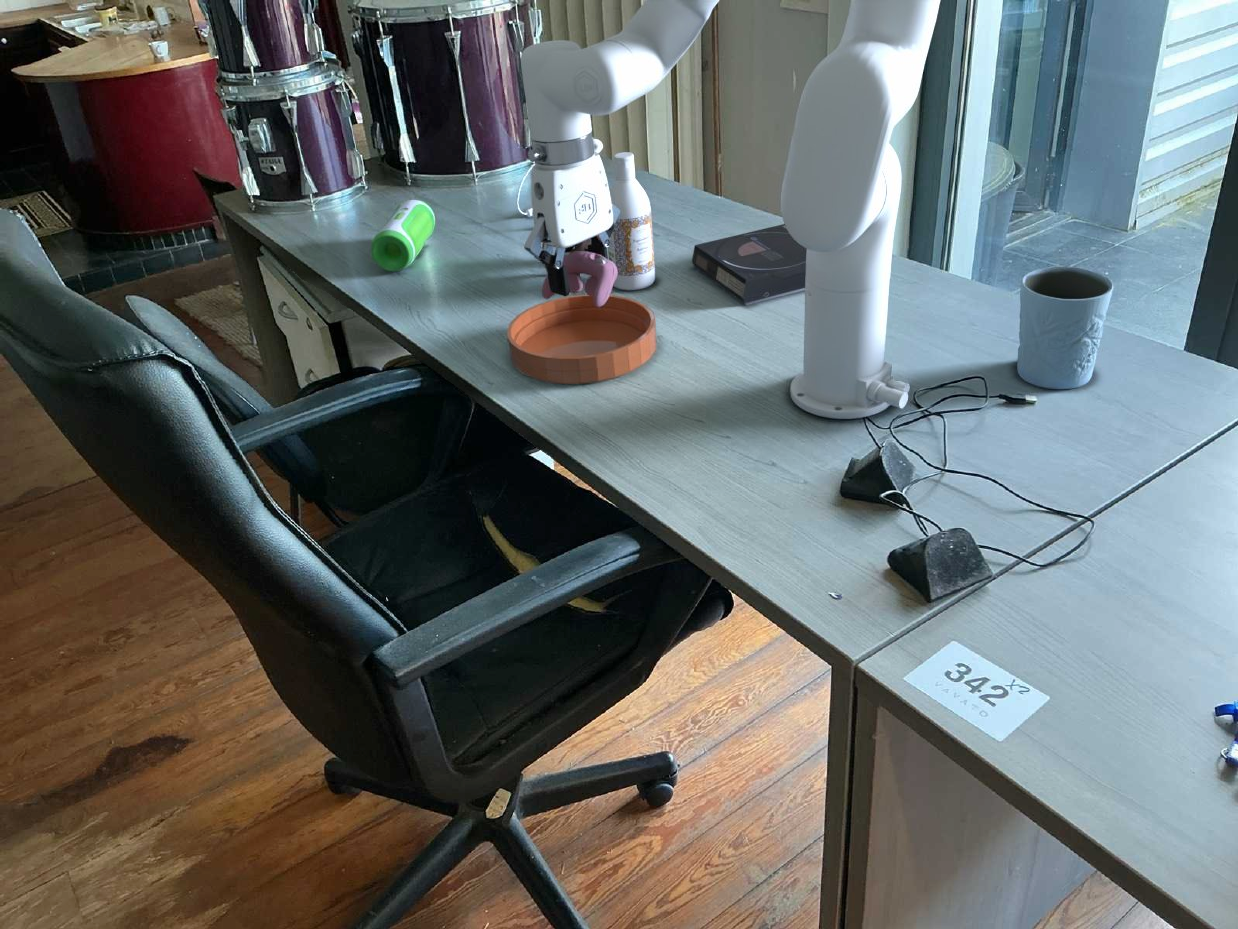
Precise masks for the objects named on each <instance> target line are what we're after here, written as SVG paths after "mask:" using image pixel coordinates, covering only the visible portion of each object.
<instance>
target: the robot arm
mask: <svg viewBox="0 0 1238 929" xmlns="http://www.w3.org/2000/svg"><path fill="white" fill-rule="evenodd" d="M719 2H720V0H644V2H643V3H642V5H641V6H640V7H639V8H638V9H637V11H636V13H635V14H634V15H633V17H632V18H631V19H630V20H629V21H628V23H627V24H626V25H625V27H624V28H623V29H622V30H621V31H619V33H617V34H614V35H612V36H610V37H608V38H605V39H603V40H601V41H599V42H597V43H594V44H592V45H589V46H587V47H584V48H581V47H580V45H579V44H578V43H576V42H575V41H571V40H549V41H548V40H547V41H543V42H538V43H533V44H531V45H529V46H527V47H526V48H524V50H523V51H522V53H521V55H520V70H521V74H522V75H521V76H522V77H521V78H522V83H523V89H524V98H525V104H526V111H527V112H526V113H527V118H528V125H529V131H530V132H529V134H530V139H531V145H532V146H531V147H532V149H531V150H529V151H528V152H527V157H528V158H527V159H528V160H529V161H530V162H531V163H535V165H534V166H532V165H531V166H532V169H531V183H530V184H531V187H530V188H531V190H530V191H531V208H532V210H533V216H532V220H533V227H532V229H531V231H530V233H529V235H528V237H527V239H526V241H525V243H524V245H523V247H524V250H525V251H526V252H528V253H529V254H530V255H532V256H533V257H534V258H535V259H536V260H538V261H539V262H541V264H542V265H544V266H545V265H546V266H547V271H546V272H547V274H548V280H549V286H550V290H551V292H553V293H555V294H556V295H559V296H562V297H568V296H570V294H571V293H570V290H569V283H568V275H567V268H566V267H565V266H562V263H563V258H564V253H565V248H568V247H570V246H573V245H575V244H578V243H580V242H582V241H585V240H587V239H589V240H590V242H591V244H589V245H588V252H593V253H596V254H599V255H601V256H603V257H605V258H606V259H608V260H609V255H608V247H609V245H610V237H611V235H612V233H613V230H614V224H615V223H616V221H617V219H618V216H619V214H620V210H619V209H618V208H617V207H615V206H614V205H613V204H611V198H610V192H609V191H610V187H609V182H608V178H607V174H606V170H605V167H604V164H603V161H602V158H601V156H600V152H599V153H597V152H594V146H593V138H594V137H593V131H592V130H593V128H592V120H591V116H606V115H607V116H608V115H610V114H613V113H616V112H617V111H619V110H620V109H622V108H624V107H626V106H627V105H629V104H630V103H632V102H633V101H635V100H637V99H639V98H641V97H643V96H645V95H647V94H649V92H651V91H652V90H653V89H655V88H656V87H657V86H658V85H659V84H660V83H661V82H662V81H663V80H664V79H665V78H666V76H667V75H668V74H669V73H670V71H672V69H673V68H674V67H675V66H676V64H678V62H679V61H680V60H681V59H682V57H683V56H684V55H685V53H686V52H687V51H688V50H689V48H690V47H691V46H692V44H694V42H695V40H696V39H697V38H698V36H699V34H700V33H701V32H702V29H703V28H704V26H705V25H706V23H707V21H708V20H709V19H710V17H711V14H712V12H713V10H714V8H715V7H716V5H717V4H718V3H719ZM940 3H941V0H850V5H849V10H848V14H847V18H846V22H845V26H844V31H843V34H842V36H841V40H840V42H839V44H838V46H837V47H836V49H834V50H833V51H832V52H831V53H829V54H828V55H826V56H825V57H824V58H823V59H822V60H821V61H820V62H819V63H818V64H817V65H816V67H815V68H814V69H813V71H811V74H810V75H809V76H808V79H807V81H806V83H805V85H804V88H803V91H802V93H801V96H800V100H799V103H798V107H797V111H796V116H795V121H794V127H793V131H792V136H791V139H790V140H791V141H790V146H789V151H788V156H787V161H786V166H785V169H784V176H783V181H782V186H781V191H780V192H781V193H780V213H781V217H782V221H783V224H785V226H786V228H787V230H788V232H789V233H790V235H791V236H792V237H793V238H794V240H795V241H797V242H798V243H799V244H800V245H802V246H803V247H805V248H807V253H806V276H805V290H804V318H803V319H804V320H803V322H804V325H803V326H804V327H803V368H802V369H803V370H802V371H801V372H799V373H798V374H797V375H795V376H794V377H793V378H792V380H791V382H790V386H789V388H790V391H789V394H790V399H791V400H792V401H793V403H794V404H795V405H796V406H798V408H800V409H802V411H805V412H807V413H810V414H811V415H815V416H818V417H821V418H822V417H823V418H827V419H837V420H854V419H862V418H867V417H871V416H873V415H876V414H879V413H881V412H883V411H885V410H886V409H887V408H889V407H890V406H892V407H895V408H899V409H900V410H901V409H904V408H905V406H906V405H907V403H908V400H909V394H908V393H909V392H910V387H911V385H910V384H909V383H907V382H904V381H902V380H896V379H894V377H893V376H892V371H893V370H892V369H893V364H891V363H889V362H885V355H886V354H885V353H886V351H885V350H886V337H887V322H888V306H889V291H890V279H891V270H892V257H893V244H894V237H895V230H896V229H895V228H896V223H897V216H898V211H899V205H900V199H901V190H902V170H901V169H902V168H901V164H900V160H899V157H898V154H897V153H896V151H895V149H894V148H893V146H892V144H890V140H891V136H892V133H893V130H894V127H895V126H896V125H897V124H898V123H899V122H900V121H901V120H902V119H903V118H904V117H905V116H906V115H907V113H908V112H909V111H910V110H911V108H912V107H913V105H914V103H915V101H916V99H917V97H918V94H919V91H920V87H921V82H922V79H923V72H924V69H925V65H926V60H927V56H928V53H929V49H930V45H931V42H932V38H933V33H934V29H935V26H936V22H937V18H938V14H939V8H940ZM543 243H545V244H544V249H543V248H542V244H543ZM553 253H554V254H553ZM553 255H554V256H553Z"/></svg>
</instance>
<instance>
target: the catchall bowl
mask: <svg viewBox="0 0 1238 929" xmlns="http://www.w3.org/2000/svg"><path fill="white" fill-rule="evenodd" d="M656 325H657V324H656V317H655V315H654V312H653V311H652V310H651V309H650V308H649V307H648V306H647V305H645V304H644V303H642V302H640V301H638V300H634V299H632V298H629V297H625V296H620V295H615V294H614V295H613V294H610V296H609V298H608V299H607V301H606V302H605V304H604V305H603V306H601V307H596V306H595V304H594V300H593V297H592V296H589V295H587V294H576V295H568V296H562V297H558V298H553V299H550V300H547V301H544V302H540V303H537V304H536V305H534V306H531V307H529V308H527V309H525V310H524V311H521V312H520V313H519V314H517V315H516V316H515V317H514V318H513V319H512V321H510V323H509V325H508V326H507V329H506V338H507V345H508V352H509V359H510V361H511V363H512V365H513V367H514V368H515V369H516V370H517V371H519V372H520V373H521V374H523V375H526V376H527V377H530V378H532V379H535V380H538V381H541V382H544V383H545V382H546V383H551V384H560V385H584V384H593V383H599V382H604V381H608V380H609V381H610V380H612V379H615V378H618V377H621V376H624V375H626V374H629V373H631V372H632V371H634V370H636V369H638V368H639V367H641V366H643V365H644V364H645V363H646V362H647V361H648V360H650V359H651V357H652V356H653V354H654V353H655V352H656V349H657V345H658V344H657V343H658V341H657V340H658V339H657V326H656Z"/></svg>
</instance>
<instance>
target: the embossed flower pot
mask: <svg viewBox="0 0 1238 929" xmlns="http://www.w3.org/2000/svg"><path fill="white" fill-rule="evenodd" d="M1113 291H1114V283H1113V281H1112V280H1111V279H1110V278H1109V277H1107V276H1105V275H1103V274H1102V273H1100V272H1096V271H1094V270H1091V269H1086V268H1081V267H1072V266H1050V267H1043V268H1038V269H1034V270H1031V271H1029V272H1027V273H1026V274H1024V275H1023V276H1022V278H1021V280H1020V290H1019V292H1020V293H1019V298H1020V299H1019V301H1020V302H1019V304H1020V307H1019V309H1020V310H1019V332H1018V336H1019V337H1018V338H1019V346H1018V348H1017V366H1016V368H1017V373H1018V375H1019V377H1021V379H1022V380H1024V381H1025V382H1026V383H1029V384H1031V385H1034V386H1036V387H1040V388H1044V389H1051V390H1071V389H1077V388H1079V387H1082V386H1084V385H1086V384H1087V383H1089V381H1090V380H1091V378H1092V376H1093V372H1094V368H1095V365H1096V360H1097V356H1098V350H1099V347H1100V344H1101V339H1102V336H1103V332H1104V323H1105V320H1106V315H1107V313H1108V309H1109V306H1110V302H1111V298H1112V295H1113Z"/></svg>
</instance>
